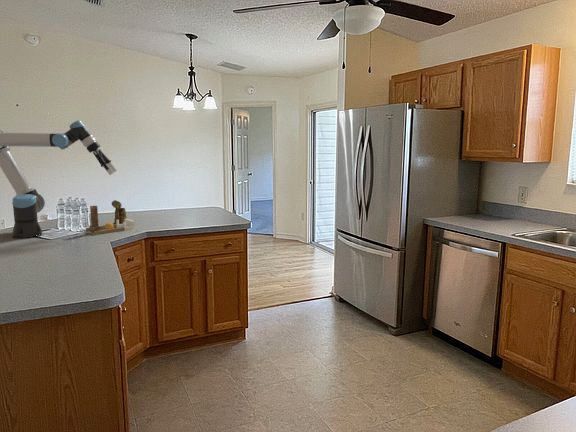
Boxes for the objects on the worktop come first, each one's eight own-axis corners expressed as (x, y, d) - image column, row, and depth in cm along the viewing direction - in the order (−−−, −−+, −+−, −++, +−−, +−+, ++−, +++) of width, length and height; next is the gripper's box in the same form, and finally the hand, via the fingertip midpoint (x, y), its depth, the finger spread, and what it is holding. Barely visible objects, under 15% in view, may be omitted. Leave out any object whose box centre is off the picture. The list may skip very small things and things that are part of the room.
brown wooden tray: (95, 238, 254) (95, 227, 253) (84, 233, 266) (84, 222, 265) (137, 232, 271) (136, 221, 270) (125, 227, 283) (124, 217, 282)
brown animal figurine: (109, 228, 282) (107, 200, 279) (116, 223, 295) (115, 197, 292) (123, 228, 282) (121, 200, 279) (130, 224, 295) (128, 197, 292)
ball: (107, 231, 264) (106, 223, 263) (103, 230, 267) (103, 222, 267) (115, 230, 267) (114, 222, 266) (111, 229, 271) (111, 221, 270)
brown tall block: (94, 233, 258) (92, 207, 255) (89, 231, 263) (87, 205, 260) (101, 232, 260) (99, 206, 258) (96, 230, 265) (94, 205, 263)
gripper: (92, 141, 258) (115, 171, 264) (99, 140, 282) (121, 167, 288) (81, 148, 258) (105, 178, 264) (89, 146, 281) (111, 174, 288)
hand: (113, 172), depth 276 cm, fingers open, 13 cm apart
